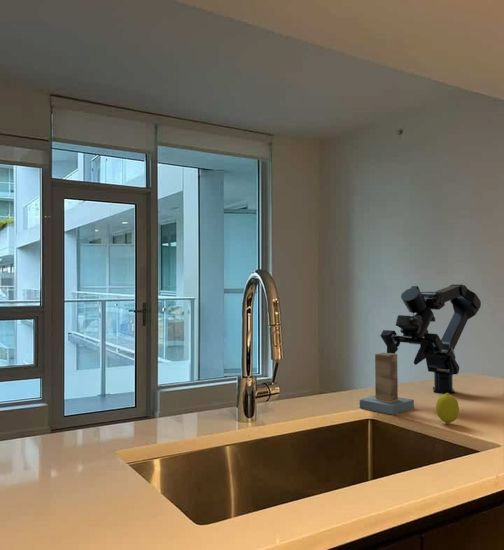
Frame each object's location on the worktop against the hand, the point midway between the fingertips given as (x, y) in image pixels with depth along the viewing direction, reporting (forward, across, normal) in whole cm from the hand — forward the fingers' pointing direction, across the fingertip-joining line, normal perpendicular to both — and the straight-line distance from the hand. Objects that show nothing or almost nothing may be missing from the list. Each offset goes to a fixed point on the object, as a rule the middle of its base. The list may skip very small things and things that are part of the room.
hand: (400, 362), depth 155 cm
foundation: (+14, 0, +3) cm, 15 cm away
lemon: (+17, +20, +1) cm, 26 cm away
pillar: (+12, 0, +1) cm, 12 cm away
